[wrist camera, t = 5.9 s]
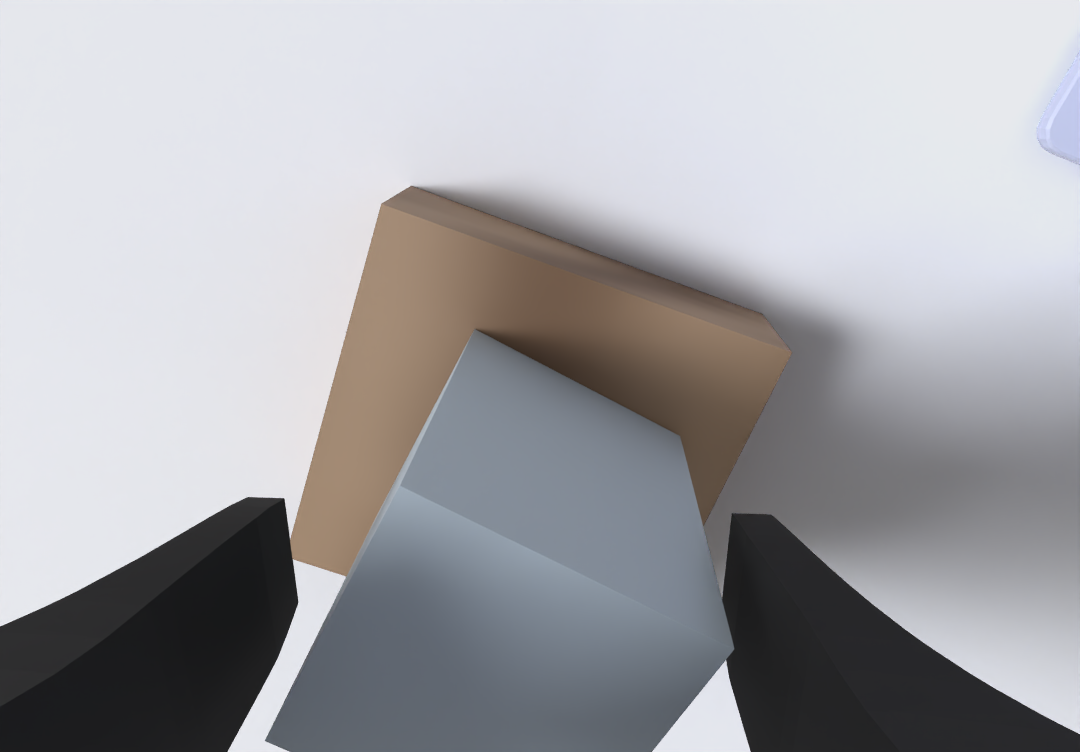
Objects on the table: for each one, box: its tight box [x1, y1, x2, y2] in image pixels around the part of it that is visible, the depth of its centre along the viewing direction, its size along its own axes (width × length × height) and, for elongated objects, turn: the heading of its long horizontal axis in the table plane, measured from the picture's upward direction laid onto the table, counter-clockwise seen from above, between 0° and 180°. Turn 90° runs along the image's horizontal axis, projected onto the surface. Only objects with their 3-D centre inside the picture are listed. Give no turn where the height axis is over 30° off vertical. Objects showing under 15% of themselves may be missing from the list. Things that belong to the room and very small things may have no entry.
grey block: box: [265, 329, 734, 752], centre depth 13 cm, size 4×4×6 cm
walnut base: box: [290, 186, 792, 576], centre depth 17 cm, size 8×8×3 cm
